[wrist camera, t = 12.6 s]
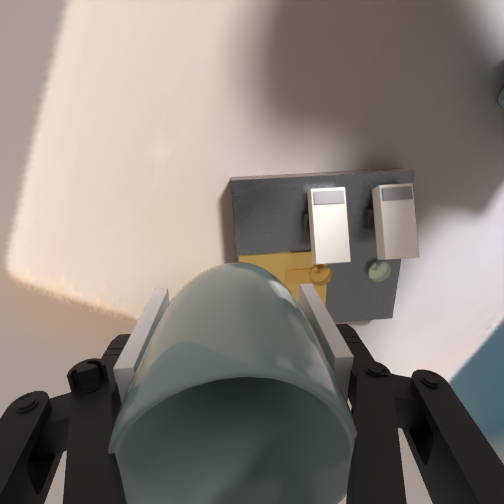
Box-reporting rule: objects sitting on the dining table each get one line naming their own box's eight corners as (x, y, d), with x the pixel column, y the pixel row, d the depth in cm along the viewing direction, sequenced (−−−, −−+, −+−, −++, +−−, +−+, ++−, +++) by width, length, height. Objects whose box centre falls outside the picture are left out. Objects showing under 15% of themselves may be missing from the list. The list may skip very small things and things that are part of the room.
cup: (257, 219, 16) (291, 321, 7) (317, 319, 19) (399, 489, 10) (144, 286, 17) (44, 453, 8) (216, 372, 20) (202, 574, 11)
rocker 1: (307, 192, 29) (311, 188, 27) (339, 191, 29) (345, 186, 27) (312, 263, 29) (316, 264, 27) (344, 261, 29) (351, 261, 27)
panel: (231, 177, 30) (230, 181, 27) (400, 168, 31) (419, 171, 28) (240, 318, 37) (241, 335, 33) (381, 308, 37) (395, 323, 34)
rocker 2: (371, 189, 29) (380, 184, 27) (403, 187, 29) (413, 182, 27) (377, 259, 29) (386, 259, 27) (409, 257, 29) (420, 257, 27)
